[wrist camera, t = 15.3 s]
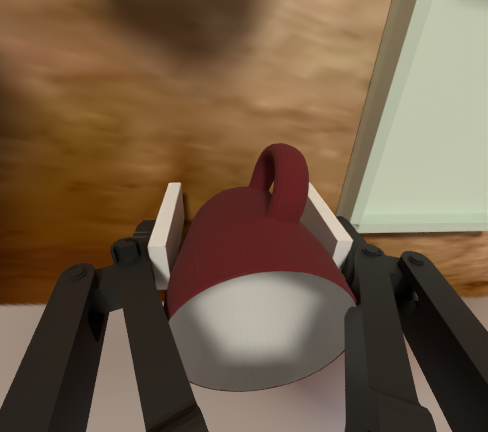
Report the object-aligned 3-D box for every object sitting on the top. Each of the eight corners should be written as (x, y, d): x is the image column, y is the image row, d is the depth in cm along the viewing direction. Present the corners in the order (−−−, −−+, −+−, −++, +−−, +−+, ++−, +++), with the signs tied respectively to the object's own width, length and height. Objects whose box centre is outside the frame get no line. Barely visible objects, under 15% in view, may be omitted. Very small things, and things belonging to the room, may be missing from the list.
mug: (184, 108, 15) (154, 185, 6) (317, 128, 16) (437, 211, 8) (179, 252, 20) (158, 397, 12) (278, 256, 21) (323, 388, 13)
